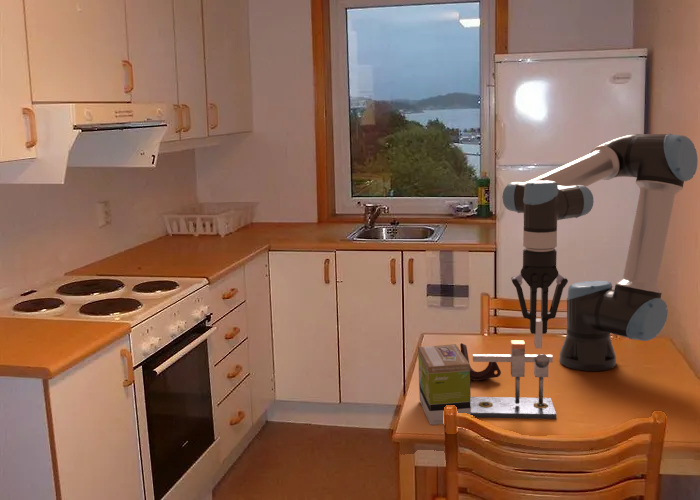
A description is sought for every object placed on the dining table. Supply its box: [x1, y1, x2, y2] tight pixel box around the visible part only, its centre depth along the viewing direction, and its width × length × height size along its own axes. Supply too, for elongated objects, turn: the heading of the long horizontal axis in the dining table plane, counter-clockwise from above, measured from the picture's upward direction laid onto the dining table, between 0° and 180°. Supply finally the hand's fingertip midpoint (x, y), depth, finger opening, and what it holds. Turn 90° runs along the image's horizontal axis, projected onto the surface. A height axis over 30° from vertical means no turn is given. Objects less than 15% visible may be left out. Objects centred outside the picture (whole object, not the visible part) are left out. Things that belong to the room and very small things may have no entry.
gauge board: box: [471, 396, 557, 420], centre depth 186 cm, size 20×10×1 cm, turn 83°
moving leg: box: [510, 339, 526, 404], centre depth 184 cm, size 3×3×15 cm
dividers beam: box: [472, 353, 554, 404], centre depth 185 cm, size 18×3×13 cm, turn 83°
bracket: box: [459, 342, 502, 381], centre depth 208 cm, size 6×17×10 cm, turn 77°
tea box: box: [417, 343, 472, 426], centre depth 185 cm, size 15×10×15 cm, turn 5°
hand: (538, 346), depth 182 cm, fingers closed
